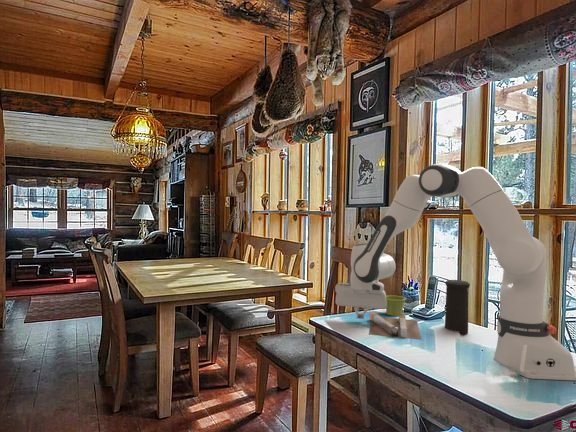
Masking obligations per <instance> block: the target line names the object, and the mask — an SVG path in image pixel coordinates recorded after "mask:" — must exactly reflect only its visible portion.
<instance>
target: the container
mask: <svg viewBox="0 0 576 432" xmlns="http://www.w3.org/2000/svg"><path fill="white" fill-rule="evenodd" d="M445 285H446V290H445V292H446V293H445V295H446V296H445V317H444V318H445V319H444V328H445V329H446V330H448V331H452V332H458V333H459V335H460V336H464V335H465V336H466V335H468V333H469V292H470V291H469V290H470V289H469V288H470V286H471V284H470V282H468V281H466V280H461V279H460V280H459V279H447V280H445Z"/></svg>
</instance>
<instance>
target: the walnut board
mask: <svg viewBox="0 0 576 432" xmlns="http://www.w3.org/2000/svg"><path fill="white" fill-rule="evenodd" d="M381 317H382V316H381ZM382 318H383V319H385V320H386V321H388V322H389V323H391V324H392V325H394V326H396V327H398V336H392V335H391V334H390V333H388V332H387V331H386V330H384V329H383V328H381V327H380V326H379V325H377V324H376V323H375V322H373V321H371V320H370V326H369V331H368V335H370V336H371V335H372V336H379V337H388V338H389V337H391V338H392V337H393V338H400V339H403V338H402V337H401V335H400V323H399V318H392V317H382ZM405 321H406V327H407V338H406V339H411V340H419V341H420V340H421V341H422V335H421V331H420V328H419V324H418V320H416V319H415V320H414V319H406V318H405Z"/></svg>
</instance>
